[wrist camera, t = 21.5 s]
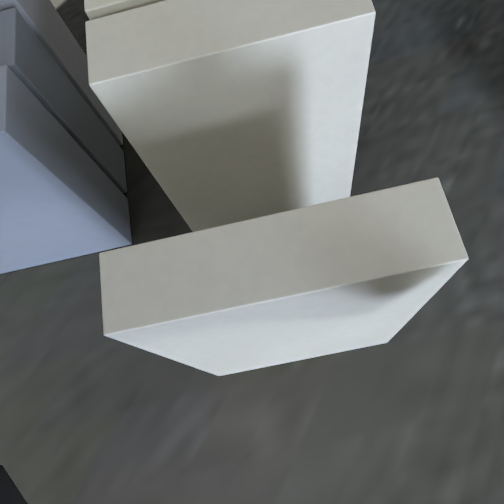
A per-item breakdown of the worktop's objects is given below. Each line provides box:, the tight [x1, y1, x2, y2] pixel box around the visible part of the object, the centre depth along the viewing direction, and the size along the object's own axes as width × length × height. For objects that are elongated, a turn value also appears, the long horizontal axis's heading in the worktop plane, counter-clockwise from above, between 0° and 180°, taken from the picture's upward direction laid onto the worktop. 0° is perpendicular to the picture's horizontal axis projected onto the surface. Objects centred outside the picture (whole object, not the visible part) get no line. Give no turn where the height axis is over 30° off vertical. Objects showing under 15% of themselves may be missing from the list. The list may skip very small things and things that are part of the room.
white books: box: [84, 0, 376, 232], centre depth 23 cm, size 6×10×15 cm, turn 100°
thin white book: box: [99, 178, 468, 376], centre depth 19 cm, size 2×10×15 cm, turn 100°
